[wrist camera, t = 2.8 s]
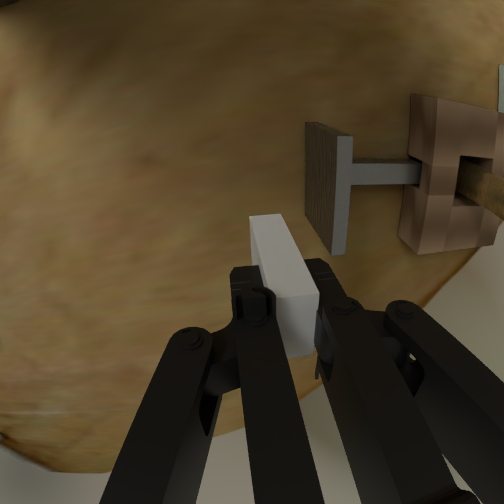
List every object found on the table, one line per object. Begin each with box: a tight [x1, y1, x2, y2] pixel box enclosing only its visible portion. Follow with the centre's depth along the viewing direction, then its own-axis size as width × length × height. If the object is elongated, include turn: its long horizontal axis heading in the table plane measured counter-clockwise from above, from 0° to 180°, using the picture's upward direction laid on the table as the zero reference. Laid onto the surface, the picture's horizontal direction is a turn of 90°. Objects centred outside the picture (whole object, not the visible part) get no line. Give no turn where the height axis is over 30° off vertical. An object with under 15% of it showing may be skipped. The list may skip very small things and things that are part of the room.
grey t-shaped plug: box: [305, 122, 422, 256], centre depth 23 cm, size 8×10×7 cm
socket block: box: [398, 94, 504, 255], centre depth 25 cm, size 14×11×4 cm
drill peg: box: [455, 158, 504, 221], centre depth 20 cm, size 3×3×16 cm
